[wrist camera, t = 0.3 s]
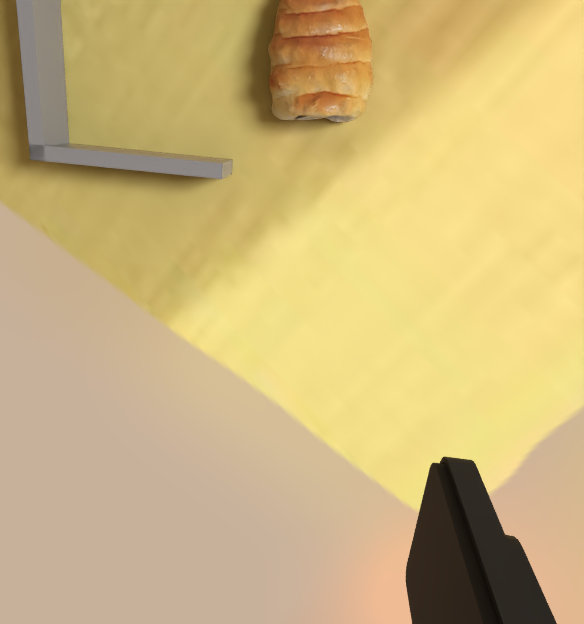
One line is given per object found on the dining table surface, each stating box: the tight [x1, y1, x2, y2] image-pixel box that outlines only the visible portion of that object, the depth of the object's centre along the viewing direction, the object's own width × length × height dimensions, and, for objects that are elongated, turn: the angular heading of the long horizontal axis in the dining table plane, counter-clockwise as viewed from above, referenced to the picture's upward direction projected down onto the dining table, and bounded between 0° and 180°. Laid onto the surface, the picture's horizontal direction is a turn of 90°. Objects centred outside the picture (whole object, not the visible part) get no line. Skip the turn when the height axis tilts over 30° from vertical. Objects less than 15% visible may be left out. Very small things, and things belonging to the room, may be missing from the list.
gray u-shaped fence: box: [16, 0, 233, 179], centre depth 33 cm, size 16×13×4 cm
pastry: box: [268, 0, 373, 122], centre depth 32 cm, size 9×7×4 cm
